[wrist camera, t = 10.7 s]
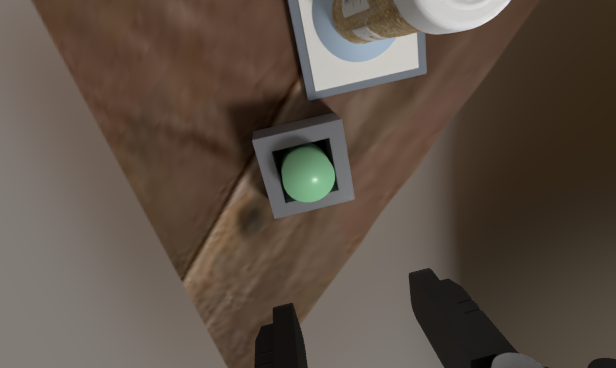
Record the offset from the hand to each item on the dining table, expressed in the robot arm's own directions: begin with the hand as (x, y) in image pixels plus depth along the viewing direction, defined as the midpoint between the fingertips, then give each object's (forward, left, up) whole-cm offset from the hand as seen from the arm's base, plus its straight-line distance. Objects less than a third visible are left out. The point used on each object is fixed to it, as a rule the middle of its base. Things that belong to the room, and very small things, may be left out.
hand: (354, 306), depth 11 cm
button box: (0, 0, -17) cm, 17 cm away
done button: (0, 0, -16) cm, 16 cm away
